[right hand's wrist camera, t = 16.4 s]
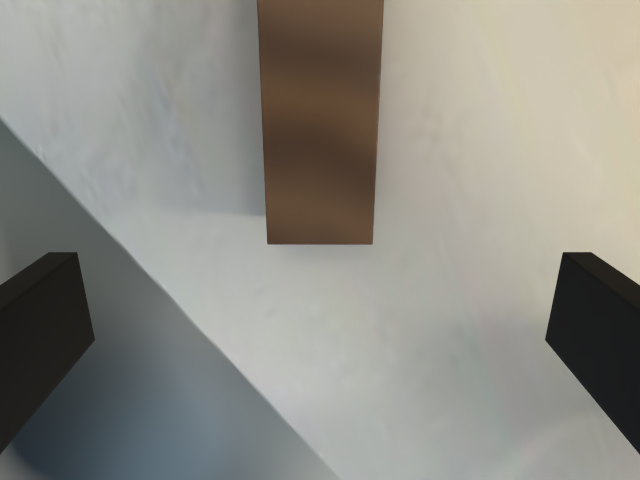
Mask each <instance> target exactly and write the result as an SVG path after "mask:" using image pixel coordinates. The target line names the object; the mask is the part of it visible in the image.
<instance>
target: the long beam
mask: <svg viewBox="0 0 640 480" xmlns="http://www.w3.org/2000/svg"><path fill="white" fill-rule="evenodd" d="M383 6H384V0H257V9H258V33H259V57H260V80H261V104H262V128H263V152H264V176H265V199H266V223H267V244H296V245H372V244H373V223H374V201H375V179H376V158H377V136H378V114H379V93H380V71H381V49H382V28H383Z"/></svg>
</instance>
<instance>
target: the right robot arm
mask: <svg viewBox="0 0 640 480" xmlns="http://www.w3.org/2000/svg"><path fill="white" fill-rule="evenodd" d="M94 340H95V338H94V333H93V328H92V323H91V319H90V313H89V309H88V304H87V299H86V294H85V289H84V284H83V279H82V274H81V269H80V265H79V259H78V255H77V252H49V253H47V254H46V255H44V256H43V257H41V258H40V259H38V260H37V261H35V262H34V263H33V264H31V265H30V266H28V267H26V268H25V269H24V270H22V271H21V272H19V273H18V274H16V275H15V276H13V277H12V278H10V279H9V280H7V281H6V282H4V283H3V284H2V285H0V454H1V453H2V452H3V450H4V449H5V448H6V447H7V446H8V444H9V443H10V442H11V441H12V440H13V438H14V437H15V436H16V435H17V434H18V432H19V431H20V430H21V429H22V427H23V426H24V425H25V424H26V423H27V421H28V420H29V419H30V418H31V416H32V415H33V414H34V413H35V412H36V411H37V409H38V408H39V407H40V406H41V404H42V403H43V402H44V401H45V400H46V398H47V397H48V396H49V395H50V394H51V392H52V391H53V390H54V389H55V388H56V386H57V385H58V384H59V383H60V381H61V380H62V379H63V378H64V377H65V375H66V374H67V373H68V372H69V371H70V369H71V368H72V367H73V366H74V365H75V363H76V362H77V361H78V360H79V359H80V357H81V356H82V355H83V354H84V352H85V351H86V350H87V349H88V348H89V346H90V345H91V344H92V343H93V342H94ZM545 340H546V342H547V343H548V344H549V345H550V346H551V348H552V349H553V350H554V351H555V352H556V354H557V355H558V356H559V357H560V359H561V360H562V361H563V362H564V363H565V365H566V366H567V367H568V368H569V369H570V371H571V372H572V373H573V374H574V375H575V377H576V378H577V379H578V380H579V382H580V383H581V384H582V385H583V386H584V388H585V389H586V390H587V391H588V392H589V394H590V395H591V396H592V397H593V398H594V400H595V401H596V402H597V403H598V404H599V406H600V407H601V408H602V409H603V411H604V412H605V413H606V414H607V415H608V417H609V418H610V419H611V420H612V421H613V423H614V424H615V425H616V426H617V427H618V429H619V430H620V431H621V432H622V434H623V435H624V436H625V437H626V438H627V440H628V441H629V442H630V443H631V444H632V446H633V447H634V448H635V449H636V450H637V452H638V453H639V454H640V285H638V284H637V283H636V282H634V281H633V280H631V279H630V278H628V277H627V276H625V275H624V274H622V273H621V272H619V271H618V270H616V269H615V268H614V267H612V266H611V265H609V264H608V263H606V262H605V261H603V260H602V259H600V258H599V257H597V256H596V255H594V254H593V253H591V252H563V255H562V259H561V264H560V269H559V274H558V279H557V284H556V289H555V294H554V299H553V304H552V309H551V313H550V318H549V323H548V328H547V333H546V338H545Z"/></svg>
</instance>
